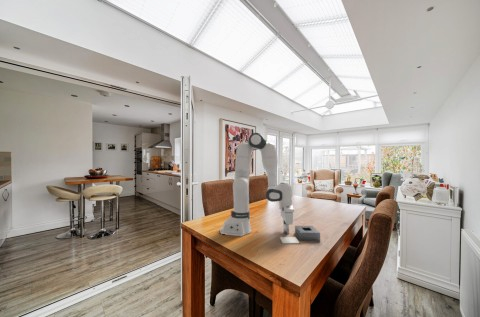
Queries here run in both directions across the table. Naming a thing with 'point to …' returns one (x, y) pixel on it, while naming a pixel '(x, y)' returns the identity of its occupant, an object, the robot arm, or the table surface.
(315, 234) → the block
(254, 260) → the table surface
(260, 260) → the table surface
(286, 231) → the chuck key
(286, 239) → the set down mat
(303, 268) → the table surface
